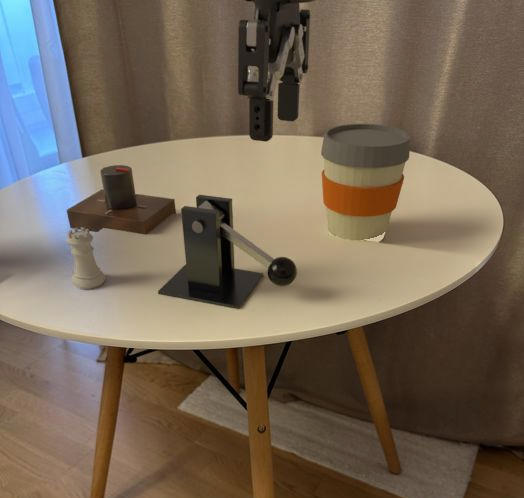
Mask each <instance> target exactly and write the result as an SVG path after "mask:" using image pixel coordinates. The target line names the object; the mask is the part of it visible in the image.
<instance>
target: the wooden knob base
mask: <svg viewBox="0 0 524 498" xmlns="http://www.w3.org/2000/svg"><path fill="white" fill-rule="evenodd" d="M135 195H136V202H137V203H136V205H135V206H133V207H130V208H127V209H111V208H108V207H107V206H106V201H105V195H104V190H103V188H102V189H100V190H98V191H97V192H95V193H93V194H91V195H90V196H88V197H86V198H84V199H83V200H81V201H79V202H78V203H76V204H74V205H73V206H71V207H70V208H67V209H66V214H67V219H68V224H69V227H70V228H71V229H74V228H77V229H78V230H81V227H82V228H85V229H88V230H89V232H95V233H96V232H97V233H98V232H100V231H101V230H102V229H107V230H114V231H120V232H128V233H133V234H140V235H148V234H149V233H150V232H151V231H153V230H154V229H156V227H157V226H159V225H160V224H162V223H163V222H164V221H166V220H167V219H168V218H169V217H171V216H172V215H173V214H174V215H176V214H177V210H176V200H175V198H168V197H163V196H162V197H161V196H154V195H147V194H141V193H140V194H139V193H135Z"/></svg>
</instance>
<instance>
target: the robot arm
mask: <svg viewBox="0 0 524 498" xmlns="http://www.w3.org/2000/svg"><path fill="white" fill-rule="evenodd" d="M243 1H244V2H252V3H253V4H254V13H253V19H240V20H239V22H238V32H237V33H238V35H237V36H238V40H237V41H238V42H237V43H238V44H237V45H238V48H237V49H238V51H237V53H238V54H237V55H238V56H237V65H238V66H237V71H238V72H237V91H238V92H237V93H238V95H239V96H244V97H245V98H246V99H249V101H248V103H249V104H248V105H249V107H248V108H249V109H248V110H249V113H248V114H249V116H248V117H249V121H248V123H249V126H248V127H249V131H248V132H249V134H248V135H249V138H250V139H251V140H252V141H258V142H269V141H270V140H272V139H273V135H274V96H275V91H276V86H277V119H278V120H279V121H283V122H284V121H285V122H295V121H296V120H297V119H299V112H300V111H299V107H300V89H301V86H300V85H301V84H302V83H303V80H304V74H307V73H308V70H309V51H310V49H309V48H310V28H311V27H310V23H311V10H310V9H301V8H300V4H306V3H313V2H315V1H316V0H243ZM278 81H279V82H278ZM277 82H278V84H277Z"/></svg>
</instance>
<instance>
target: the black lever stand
mask: <svg viewBox="0 0 524 498" xmlns="http://www.w3.org/2000/svg"><path fill="white" fill-rule="evenodd" d="M205 201H208V202H209V203H210V204H212V205H213V206H215V207H216V208H217V209H219V210H220V211H221V212H223V213H224V214H225V215H224V217H223V219H222V221H223V222H224V223H225V224H227V225H228V226H229V227H231V228H232V229H234V216H233V212H234V211H233V199H232V198H229V197H221V196H213V195H206V194H198V195H197V196H195V203H196V207H195V206H188V205H184V206H182V207H180V213H181V214H180V215H181V224H182V235H183V246H184V247H183V248H184V255H185V264H184V265H183V266H182V267H181V268H180V269H179V270H178V271H177V272H175V274H174V275H173V276H172V277H171V278H170V279H169V280H168V281H167V282H165V284H164V285H162V286H161V287H160V289H158V291H157V294H158V295H161V296H166V297H171V298H177V299H182V300H188V301H193V302H198V303H203V304H209V305H214V306H219V307H224V308H229V309H233V310H234V309H235V310H239V309H241V307H242V306H243V304H244V303H245V302H246V300H247V299H248V298H249V296H250V295H251V294H252V292H253V291H254V290H255V288H256V287H257V286H258V284H260V282H261V280H262V279H263V278H264V276H265V275H264V272H258V271H252V270H245V269H239V268H236V267H235V266H236V265H235V244H233V243H232V242H231V241H229V240H228V239H226V238H225V237H224V236H222V235H221V234H220V222H219V211H218V210H211V209H204V208H198V207H199V206H200V205H201V204H203V203H204V202H205Z"/></svg>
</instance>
